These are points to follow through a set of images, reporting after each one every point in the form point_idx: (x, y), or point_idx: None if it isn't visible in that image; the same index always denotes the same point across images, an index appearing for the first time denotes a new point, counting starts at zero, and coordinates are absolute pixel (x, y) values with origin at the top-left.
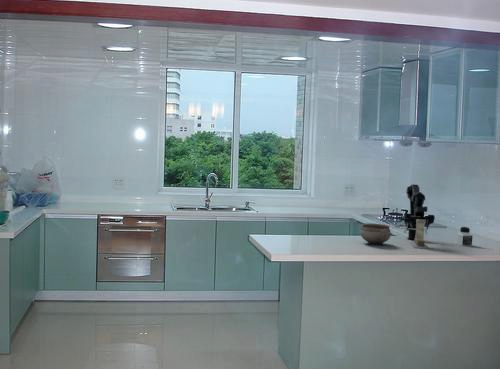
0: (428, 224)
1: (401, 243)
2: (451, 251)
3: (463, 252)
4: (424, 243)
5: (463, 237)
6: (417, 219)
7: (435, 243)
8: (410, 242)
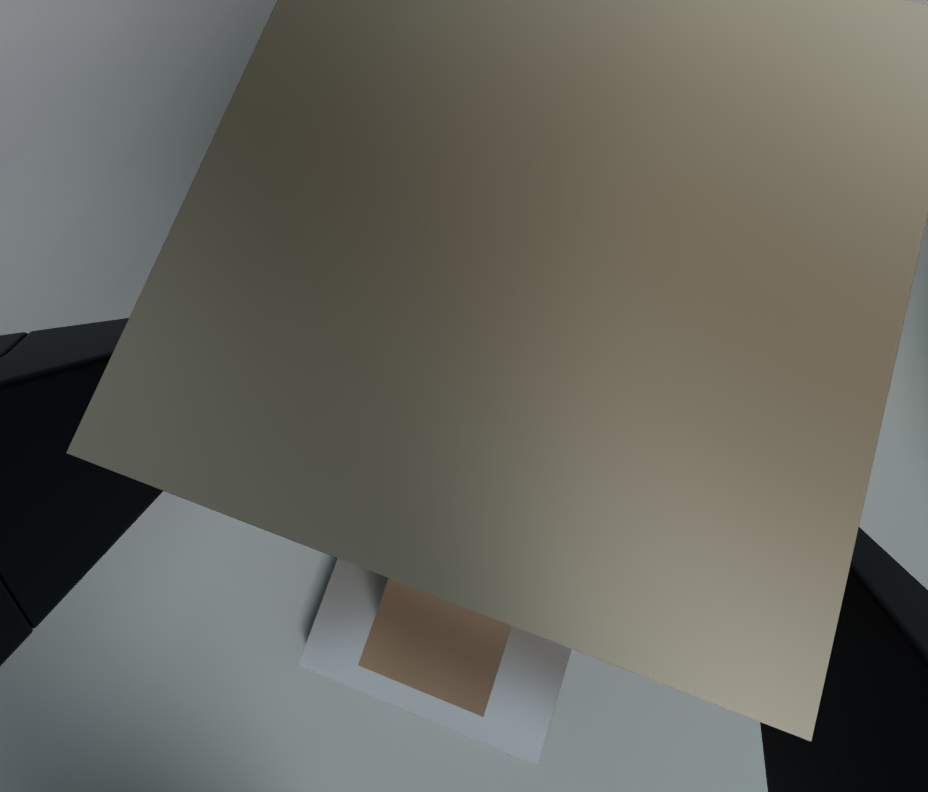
0: (84, 330)
1: (715, 723)
2: (252, 52)
3: (137, 5)
4: (340, 562)
5: None
6: (793, 444)
7: (35, 752)
8: (565, 668)
